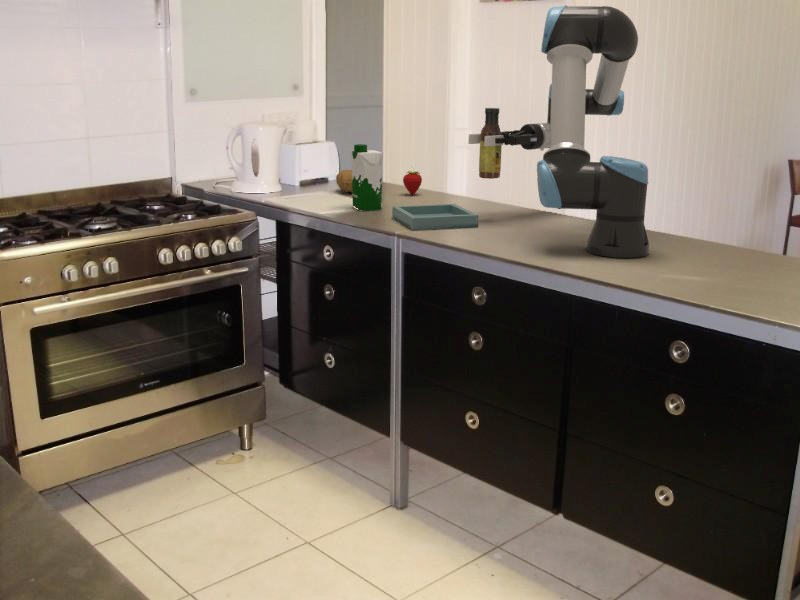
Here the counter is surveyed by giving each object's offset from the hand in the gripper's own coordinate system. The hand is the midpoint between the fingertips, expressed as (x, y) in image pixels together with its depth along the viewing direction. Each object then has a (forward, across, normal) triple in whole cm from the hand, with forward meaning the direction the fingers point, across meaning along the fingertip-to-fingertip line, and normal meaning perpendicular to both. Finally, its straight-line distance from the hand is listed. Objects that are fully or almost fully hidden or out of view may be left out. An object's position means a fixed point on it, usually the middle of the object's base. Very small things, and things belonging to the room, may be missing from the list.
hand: (477, 140), depth 246 cm
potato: (-1, +67, -24) cm, 71 cm away
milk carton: (+13, +37, -24) cm, 46 cm away
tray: (+9, +7, -24) cm, 27 cm away
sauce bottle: (-5, 0, -11) cm, 12 cm away
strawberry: (-15, +50, -24) cm, 58 cm away
